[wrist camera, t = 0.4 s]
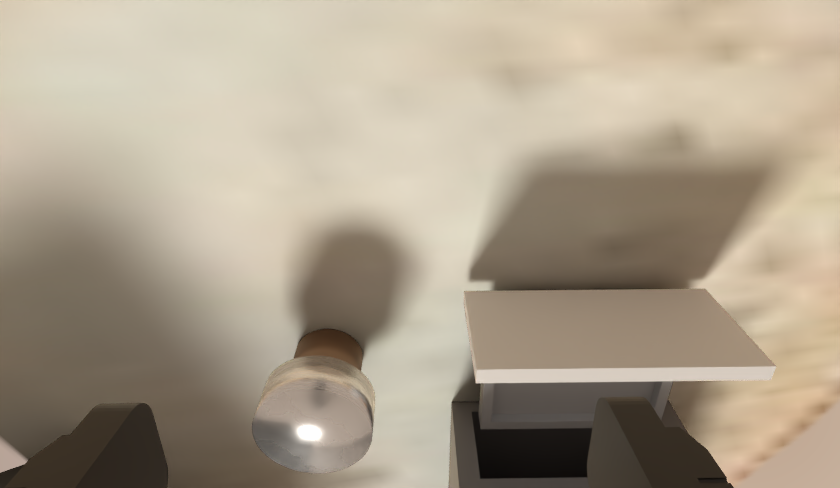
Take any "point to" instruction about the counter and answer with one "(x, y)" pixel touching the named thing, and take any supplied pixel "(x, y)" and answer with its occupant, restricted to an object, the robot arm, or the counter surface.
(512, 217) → the counter surface
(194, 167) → the counter surface
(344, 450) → the disc
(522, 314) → the drawer
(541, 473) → the cylinder
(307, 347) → the brown rounded cylinder
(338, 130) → the counter surface
